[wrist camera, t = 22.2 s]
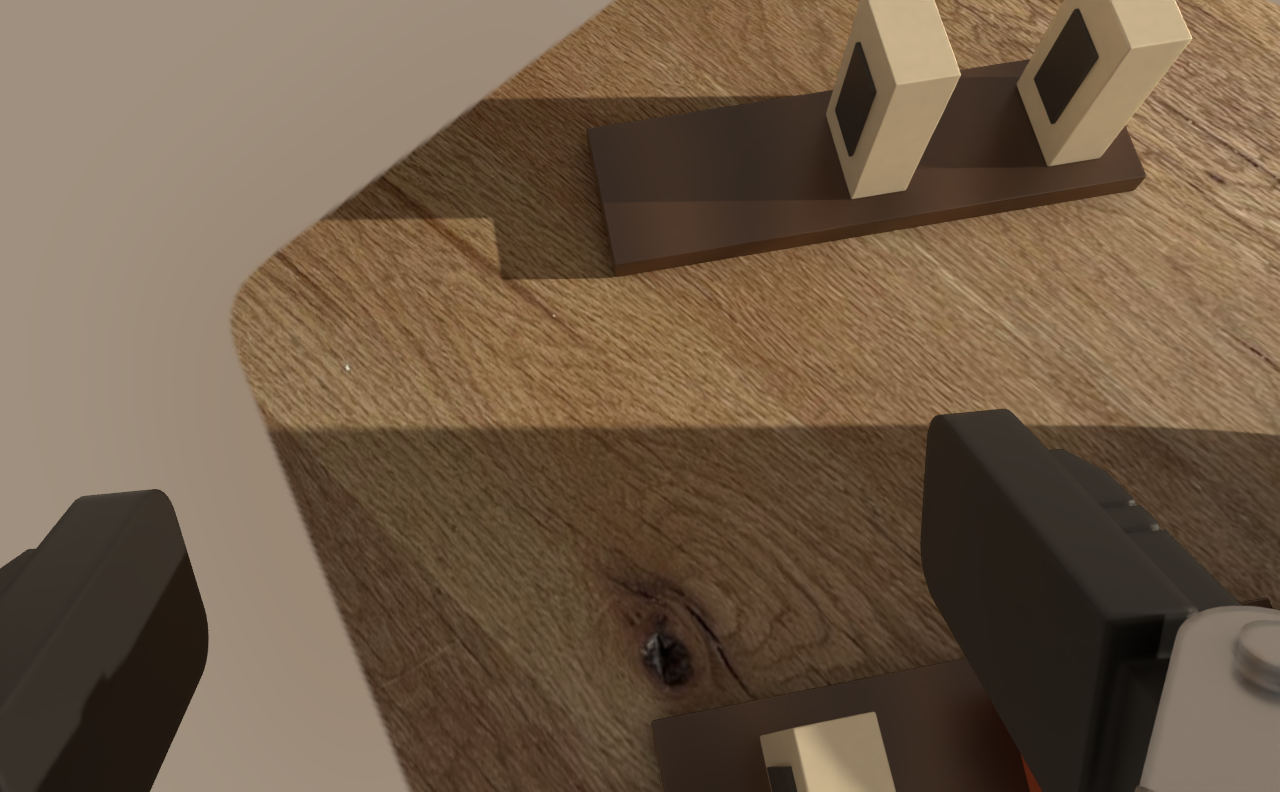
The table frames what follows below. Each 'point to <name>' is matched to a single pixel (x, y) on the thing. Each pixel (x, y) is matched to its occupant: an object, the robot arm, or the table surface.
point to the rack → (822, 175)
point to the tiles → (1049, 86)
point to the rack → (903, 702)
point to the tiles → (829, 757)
